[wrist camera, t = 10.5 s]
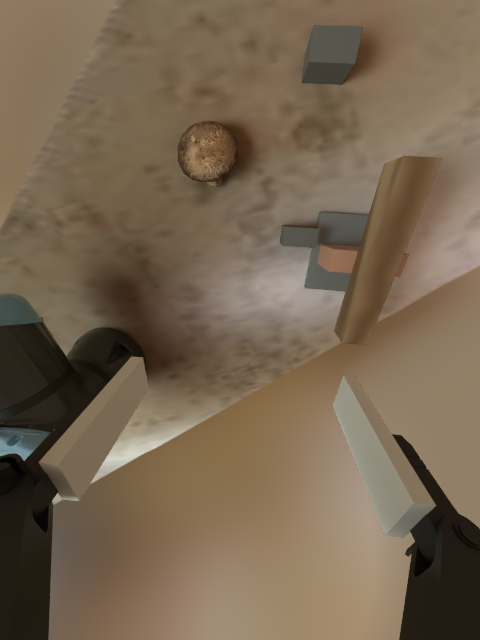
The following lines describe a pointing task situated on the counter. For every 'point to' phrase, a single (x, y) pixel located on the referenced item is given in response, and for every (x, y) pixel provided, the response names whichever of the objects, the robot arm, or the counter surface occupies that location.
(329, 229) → the fulcrum
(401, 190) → the rod
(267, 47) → the counter surface
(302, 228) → the grey blocks
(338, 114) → the counter surface
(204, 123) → the mushroom
